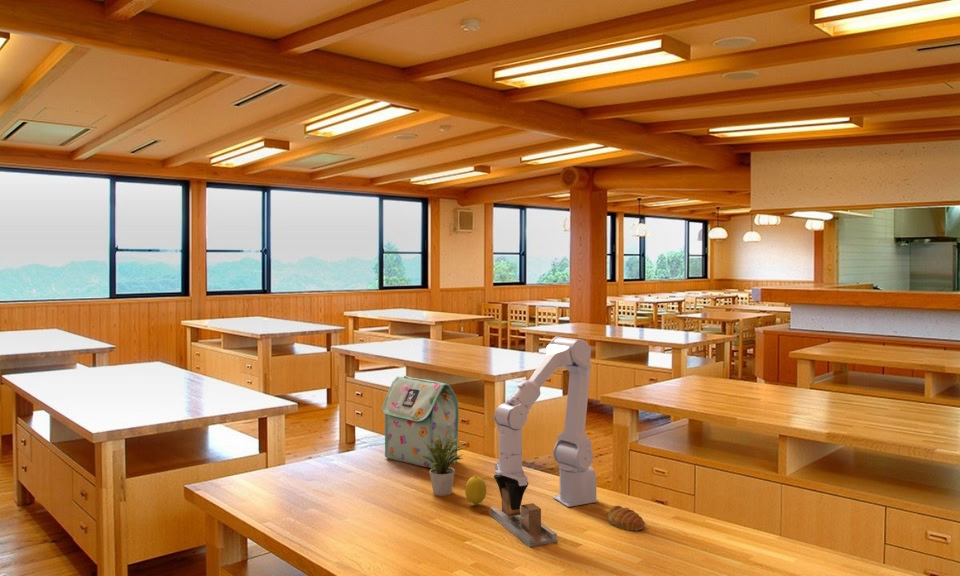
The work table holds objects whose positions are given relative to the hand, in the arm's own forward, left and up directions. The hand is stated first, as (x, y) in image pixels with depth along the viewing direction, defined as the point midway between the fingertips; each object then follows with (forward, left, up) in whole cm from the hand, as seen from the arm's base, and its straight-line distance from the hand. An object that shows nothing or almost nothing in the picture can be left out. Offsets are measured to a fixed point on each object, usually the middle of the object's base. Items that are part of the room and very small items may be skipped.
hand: (511, 505), depth 175 cm
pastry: (-24, +14, -4) cm, 29 cm away
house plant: (+9, -25, -4) cm, 27 cm away
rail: (0, +6, -3) cm, 7 cm away
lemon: (+4, -13, -4) cm, 14 cm away
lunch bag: (+4, -59, -4) cm, 59 cm away
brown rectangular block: (0, 0, -2) cm, 2 cm away
